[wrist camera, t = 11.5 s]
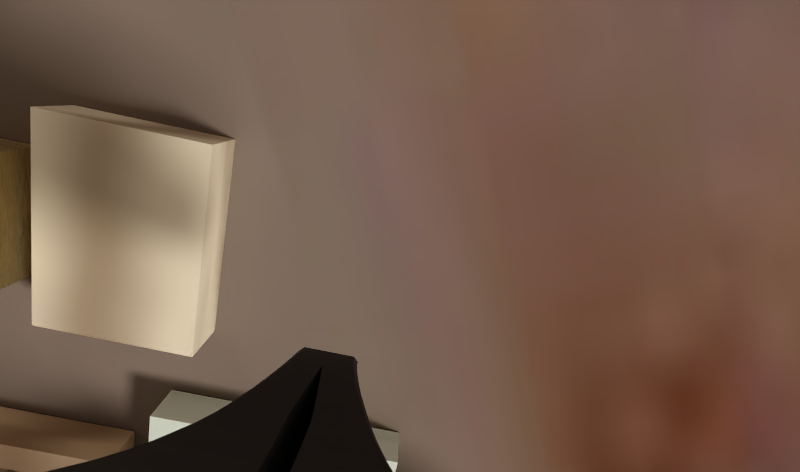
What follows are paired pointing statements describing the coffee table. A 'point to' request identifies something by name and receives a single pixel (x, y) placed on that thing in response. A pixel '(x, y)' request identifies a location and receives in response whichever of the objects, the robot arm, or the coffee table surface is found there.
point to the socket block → (54, 441)
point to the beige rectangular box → (127, 227)
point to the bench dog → (15, 211)
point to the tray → (192, 407)
